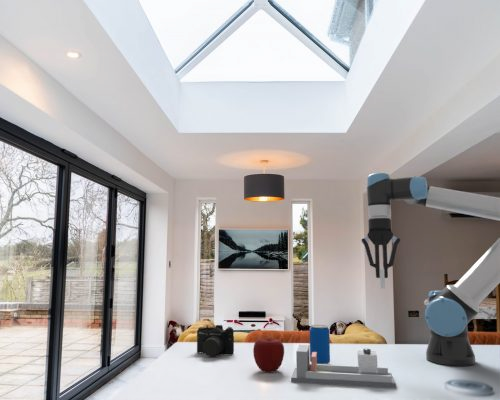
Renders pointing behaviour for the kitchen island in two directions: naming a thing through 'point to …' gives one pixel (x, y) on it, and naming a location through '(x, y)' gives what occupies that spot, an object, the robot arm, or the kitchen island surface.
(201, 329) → the camera
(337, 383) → the base
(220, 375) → the kitchen island surface
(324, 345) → the beverage can
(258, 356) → the apple
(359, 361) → the white cube with knob
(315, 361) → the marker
